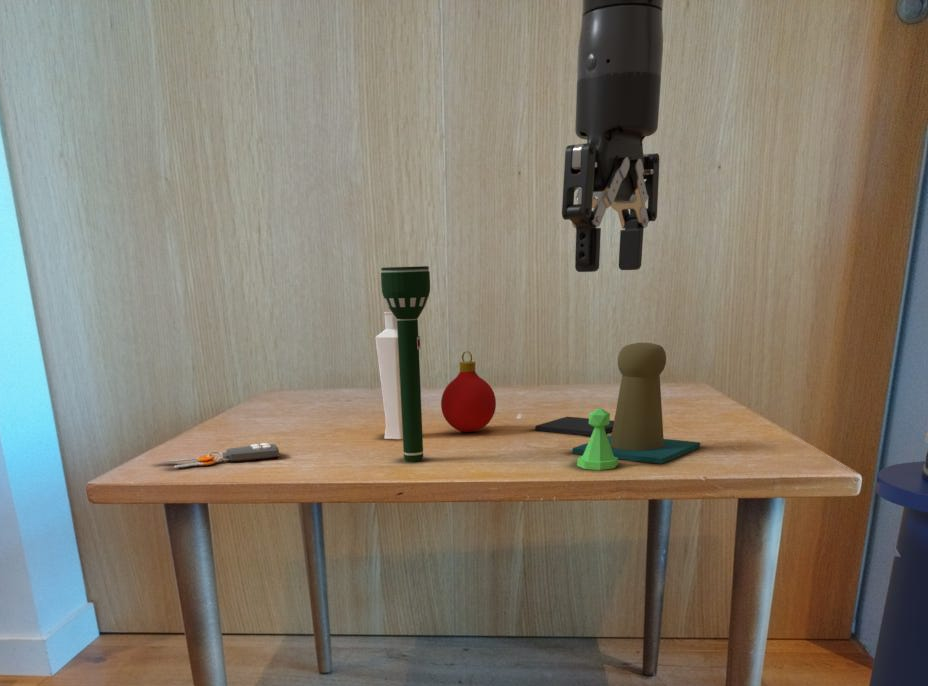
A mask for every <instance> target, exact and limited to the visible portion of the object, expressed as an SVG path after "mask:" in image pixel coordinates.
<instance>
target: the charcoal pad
mask: <svg viewBox="0 0 928 686" xmlns="http://www.w3.org/2000/svg"><path fill="white" fill-rule="evenodd" d="M613 425H614V420H611V419H610V421H609V424H608V425H606V426H604V429H605V432H606V434H609V433H610V432H611V433H612V431H613ZM594 428H595V427H593V426H591V425H590V424H589V417H577V416H576V417H575V416H564V417H561V418H557V419H553V420H551V421H547V422H543V423H539V424H536V425H535V426H534V430H535V431H539V432H547V433H557V434H568V435H577V436H585V437H586V436H588V437H591V435H592V433H593V430H594Z"/></svg>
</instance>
